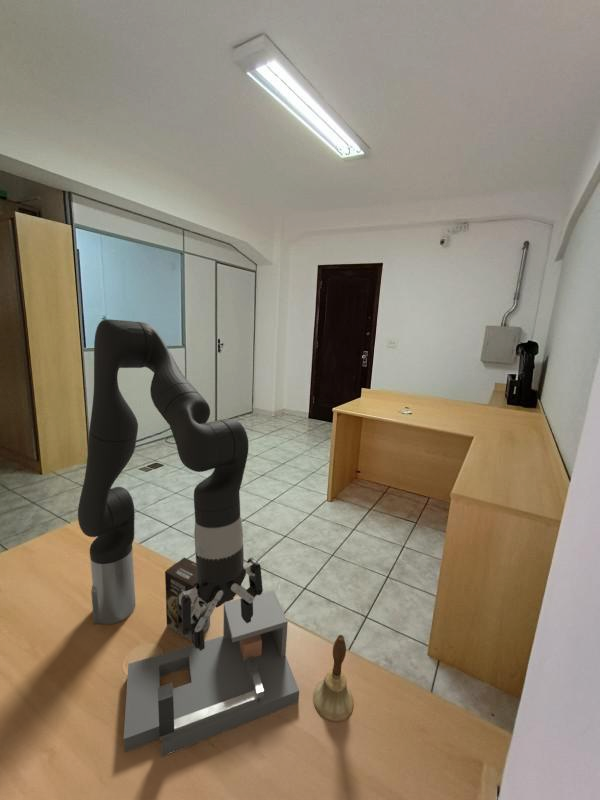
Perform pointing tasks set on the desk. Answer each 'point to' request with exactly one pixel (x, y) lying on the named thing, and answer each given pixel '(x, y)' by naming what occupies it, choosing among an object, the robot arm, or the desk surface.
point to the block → (251, 646)
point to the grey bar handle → (210, 713)
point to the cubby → (213, 678)
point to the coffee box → (175, 580)
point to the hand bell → (334, 688)
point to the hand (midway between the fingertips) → (224, 632)
